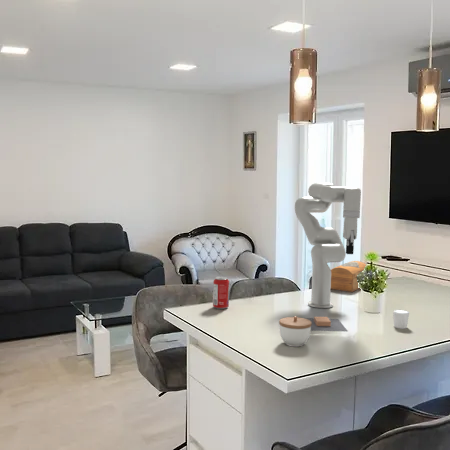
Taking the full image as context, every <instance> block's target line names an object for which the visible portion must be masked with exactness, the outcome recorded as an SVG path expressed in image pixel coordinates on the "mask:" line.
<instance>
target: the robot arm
mask: <svg viewBox="0 0 450 450" xmlns="http://www.w3.org/2000/svg"><path fill="white" fill-rule="evenodd" d="M308 195H309V196H302V197H299V198H298V199H296V201H295V202H294V212H295V216H296V218H297V220H298V221H299V222H300V225H301V226H302V228H303V231H304V234H305V236H306V238H307V241H308V243H309V244H310V245H311V246H312V248H311V251H310V254H311V255H310V256H311V263H312V264H311V265H312V270H311V275H312V276H311V298H310V299H311V300H310V301H308V302H307V304H308V306H309V307H312V308H318V309H329V308H332V307H334V304H333V302H331V290H332V289H331V269H332V268H331V267H330V266H329V263H330V264H331V263H341V262H343V261H344V260H345V258H346V255H354V251H355V250H354V249H355V245H354V244H355V241H356V239H357V236H358V234H357V233H358V219H361V218H360V217H361V199H362V198H361V197H362V190H361V188H359V187H353V186H341V185H340V186H337V185H335V184H334V183H331V182H314V183H312V184H311V185H309V188H308ZM333 203H343V208H342V209H343V211H342V217H343V218H344V221H343V230H342V238H344V239H345V240H346V245H345V247H344V244H343V242H342V240H341V237H340V235H339V232H338V231H337V230H336V229H335V228H333V227H330V226H329V227H326V226H325V227H323V226H321V225H320V222H319V220H318V219H317V218H316V217H315V216H314V215H313V213H315V214H317V213H318V214H319V213H321V214H323V213H326V212H327V211H328V209H329V208H330V206H331V205H332V204H333Z"/></svg>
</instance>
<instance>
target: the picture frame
mask: <svg viewBox="0 0 450 450" xmlns="http://www.w3.org/2000/svg"><path fill="white" fill-rule="evenodd" d="M313 318H314V322H315V324H316V325H317V326H331V321H330V320H329V319H330V318H329V317H328V316H313Z"/></svg>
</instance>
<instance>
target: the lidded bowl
mask: <svg viewBox="0 0 450 450" xmlns="http://www.w3.org/2000/svg"><path fill="white" fill-rule="evenodd" d="M304 318H305V317H298V316H296V315H294V316H289V317H288V316H287V317H282V318H280V319H279V321H278V324H279V328H278V329H279V335H280V338H281V340H282V341H283V342H284V343H285V345H286V346H290V347H297V348H299V347H303V346H304V345H305V344H306V343H307V341H309V338H310V336H311V324H312V323H311V321H310V320H308V319H304Z"/></svg>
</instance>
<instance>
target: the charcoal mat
mask: <svg viewBox="0 0 450 450" xmlns="http://www.w3.org/2000/svg"><path fill="white" fill-rule="evenodd" d="M303 318H304V319H308V320H310V321H311V323H312V324H311V331H313V332H315V331H316V332H320V331H321V332H348V329H347V328H346V327H345V326H344V324H343V323H342V322H341V321H340V319H339V318H328V319H329V320H330V321H331V326H317V325H316V324H315V322H314V317H311V318H310V317H309V318H306V317H303Z"/></svg>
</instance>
